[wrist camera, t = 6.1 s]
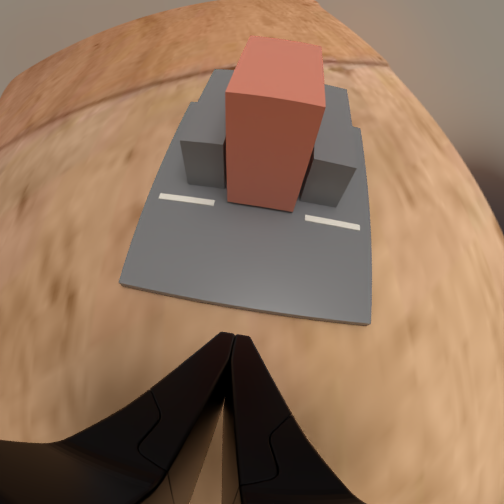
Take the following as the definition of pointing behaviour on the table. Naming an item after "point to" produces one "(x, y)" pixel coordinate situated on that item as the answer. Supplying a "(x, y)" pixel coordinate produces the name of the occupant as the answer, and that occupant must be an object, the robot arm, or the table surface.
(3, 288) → the table surface
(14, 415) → the table surface
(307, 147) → the plug
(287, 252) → the socket dock
